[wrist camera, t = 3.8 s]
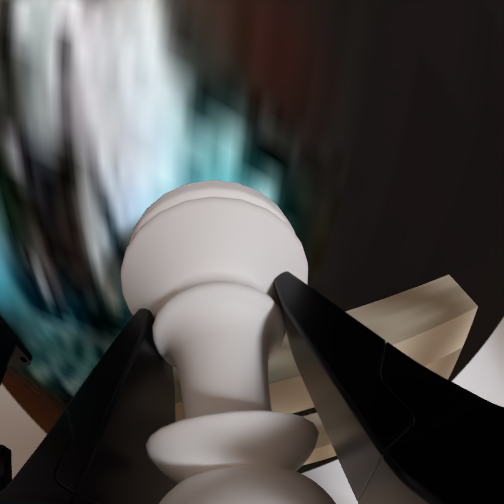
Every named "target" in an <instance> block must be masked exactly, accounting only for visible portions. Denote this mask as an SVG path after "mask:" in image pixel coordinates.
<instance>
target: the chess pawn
mask: <svg viewBox="0 0 504 504" xmlns="http://www.w3.org/2000/svg"><path fill="white" fill-rule="evenodd" d="M285 271H288V272H290V273H291V274H293V275H294V276H296V277H297V278H299V279H300V280H301V281H303V282H304V283H306V284H307V279H308V263H307V260H306V256H305V253H304V250H303V247H302V244H301V242H300V241H299V239H298V238H297V236H296V235H295V232H294V229H293V228H292V226H291V224H290V222H289V221H288V220H287V218H286V217H285V215H284V214H283V213H282V211H281V210H280V208H279V207H278V206H277V205H276V204H275V203H273V202H272V201H271V200H270V199H268V198H267V197H266V196H264V195H263V194H262V193H260V192H259V191H256V190H254V189H251V188H249V187H246V186H244V185H241V184H238V183H233V182H224V181H215V180H210V181H203V182H197V183H190V184H186V185H184V186H181V187H179V188H177V189H175V190H172V191H170V192H168V193H166V194H164V195H163V196H162V197H160V198H159V199H158V200H157V201H156V202H154V203H153V204H152V205H151V206H150V207H148V208H147V209H146V211H145V212H144V214H143V215H142V217H141V218H140V220H139V221H138V223H137V224H136V226H135V228H134V230H133V233H132V236H131V239H130V243H129V245H128V247H127V249H126V252H125V256H124V259H123V263H122V267H121V285H122V293H123V296H124V298H125V301H126V303H127V306H128V308H129V310H130V312H131V313H132V315H133V316H134V315H135V313H136V312H137V311H138V310H139V309H141V308H145V309H148V310H150V311H151V312H152V315H153V317H154V320H155V321H154V324H153V327H152V328H153V341H154V344H155V346H156V348H157V350H158V353H159V354H160V355H161V356H162V357H163V358H164V359H165V360H166V362H167V363H169V364H170V365H172V366H173V367H175V368H176V369H177V372H178V376H179V380H180V386H181V393H182V400H183V406H184V413H185V419H183V420H180V421H177V422H175V423H172V424H169V425H167V426H164V427H162V428H160V429H159V430H158V431H156V432H155V433H153V434H152V435H151V436H150V438H149V440H148V442H147V444H146V448H147V452H148V456H149V458H150V459H151V461H152V462H153V463H154V464H155V465H156V466H157V467H158V468H159V469H160V470H161V471H162V472H163V473H164V474H165V475H166V476H168V477H169V478H171V479H172V480H174V481H176V482H178V483H179V484H177V485H176V486H175V487H174V488H173V489H172V490H171V491H170V492H168V493H167V494H166V495H165V497H164V498H163V499H162V500H161V501H160V503H159V504H336V503H335V502H334V501H333V499H332V498H331V497H330V496H329V494H328V493H327V492H326V491H325V490H324V489H323V488H321V487H320V486H319V485H318V484H317V483H316V482H314V481H313V480H311V479H310V478H308V477H306V476H304V475H302V474H300V473H298V472H296V471H297V470H298V469H299V468H300V467H301V466H302V465H303V464H304V463H305V462H306V461H307V460H308V458H309V457H310V456H311V454H312V452H313V450H314V449H315V446H316V443H317V439H318V434H319V432H318V430H317V428H316V426H315V424H314V423H313V422H311V421H309V420H308V419H306V418H304V417H302V416H298V415H294V414H290V413H286V412H275V411H272V408H271V402H270V391H269V380H268V361H269V360H270V359H271V358H272V357H273V356H274V355H275V354H276V352H277V351H278V350H279V348H280V347H281V345H282V343H283V340H284V337H285V334H286V326H285V321H284V317H283V314H282V311H281V309H280V307H279V303H278V299H277V294H276V290H275V286H274V279H275V278H276V277H277V276H278V275H279V274H281V273H283V272H285Z"/></svg>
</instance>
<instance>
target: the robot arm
mask: <svg viewBox="0 0 504 504" xmlns="http://www.w3.org/2000/svg"><path fill="white" fill-rule="evenodd" d="M274 286H275V290H276V294H277V299H278V303H279V307H280V309H281V311H282V314H283V317H284V321H285V326H286V335H287V338H288V342H289V345H290V348H291V352H292V355H293V358H294V361H295V363H296V366H297V368H298V370H299V372H300V375H301V377H302V379H303V381H304V384H305V386H306V388H307V390H308V393H309V395H310V397H311V399H312V402H313V404H314V406H315V408H316V411H317V413H318V415H319V417H320V419H321V422H322V424H323V426H324V428H325V431H326V433H327V435H328V437H329V440H330V442H331V444H332V446H333V448H334V451H335V453H336V455H337V457H338V460H339V462H340V464H341V466H342V468H343V471H344V473H345V475H346V477H347V479H348V482H349V484H350V486H351V488H352V491H353V493H354V495H355V497H356V499H357V501H358V504H504V407H501V406H498V405H496V404H493V403H491V402H489V401H487V400H485V399H483V398H481V397H479V396H477V395H475V394H473V393H472V392H470V391H468V390H466V389H464V388H462V387H460V386H459V385H457V384H455V383H453V382H451V381H449V380H447V379H446V378H444V377H442V376H440V375H438V374H437V373H435V372H433V371H431V370H430V369H428V368H426V367H425V366H423V365H421V364H419V363H418V362H416V361H415V360H413V359H412V358H410V357H409V356H407V355H406V354H404V353H403V352H401V351H400V350H399V349H397V348H396V347H394V346H393V345H392V344H390V343H389V342H386V341H385V340H384V339H383V338H382V337H380V336H379V335H377V334H376V333H375V332H373V331H372V330H370V329H369V328H368V327H366V326H365V325H363V324H362V323H361V322H359V321H358V320H356V319H355V318H353V317H352V316H351V315H349V314H348V313H346V312H345V311H344V310H342V309H341V308H339V307H338V306H337V305H335V304H334V303H332V302H331V301H330V300H328V299H327V298H325V297H324V296H323V295H321V294H320V293H318V292H317V291H315V290H314V289H313V288H311V287H310V286H308V285H307V284H306V283H304V282H303V281H301V280H300V279H299V278H297V277H296V276H294V275H293V274H291V273H290V272H288V271H285V272H283V273H281V274H279V275H278V276H277V277H276V278H275V279H274ZM154 321H155V320H154V317H153V315H152V312H151V311H150V310H148V309H145V308H141V309H139V310H138V311H137V312H136V313H135V315H134V316H133V317H132V318H131V320H130V321H129V322H128V324H127V325H126V326H125V327H124V329H123V330H122V331H121V333H120V334H119V335H118V337H117V338H116V339H115V341H114V342H113V343H112V345H111V346H110V347H109V349H108V350H107V351H106V353H105V354H104V355H103V357H102V358H101V359H100V361H99V362H98V364H97V365H96V366H95V368H94V369H93V370H92V372H91V373H90V375H89V376H88V377H87V379H86V380H85V382H84V383H83V384H82V386H81V387H80V389H79V390H78V391H77V393H76V394H75V396H74V397H73V398H72V400H71V401H70V403H69V404H68V406H67V407H66V409H67V410H64V411H63V413H62V414H61V416H60V417H59V419H58V420H57V421H56V423H55V424H54V426H53V427H52V429H51V430H50V431H49V433H48V434H47V436H46V437H45V438H44V440H43V441H42V442H41V444H40V445H39V446H38V448H37V449H36V450H35V452H34V453H33V454H32V455H31V457H30V458H29V459H28V460H27V462H26V463H25V464H24V466H23V467H22V468H21V470H20V471H19V472H18V473H17V475H16V476H15V477H14V478H13V480H12V466H11V450H10V449H8V448H7V447H5V446H4V445H0V504H159V503H160V501H161V500H162V499H163V498H164V497H165V495H166V494H167V493H168V492H170V491H171V490H172V489H173V488H174V487H175V486H176V485H177V484H179V483H178V482H176V481H174V480H172V479H171V478H169V477H168V476H166V475H165V474H164V473H163V472H162V471H161V470H160V469H159V468H158V467H157V466H156V465H155V464H154V463H153V462H152V461H151V459H150V458H149V456H148V452H147V448H146V444H147V442H148V440H149V438H150V436H151V435H152V434H153V433H155V432H156V431H158V430H159V429H160V428H162V427H164V426H167V425H169V424H172V423H175V422H176V412H175V383H174V374H173V366H172V365H170V364H169V363H167V362H166V360H165V359H164V358H163V357H162V356H161V355H160V354H159V353H158V350H157V348H156V346H155V344H154V341H153V328H152V327H153V324H154ZM385 342H386V343H385ZM31 360H32V355H31V354H30V353H29V352H28V350H27V349H26V348H25V347H24V346H23V345H22V343H21V342H20V341H19V340H18V338H17V337H16V336H15V335H14V333H13V332H12V331H11V330H10V328H9V327H8V326H7V324H6V323H5V322H4V321H3V319H2V318H1V316H0V385H1V382H2V380H3V377H4V375H5V372H6V369H7V367H16V366H25V365H30V363H31Z"/></svg>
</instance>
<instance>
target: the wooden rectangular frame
mask: <svg viewBox="0 0 504 504" xmlns="http://www.w3.org/2000/svg"><path fill="white" fill-rule="evenodd" d="M477 308H478V306H477V305H476V304H475V303H474V302H473V301H472V299H471V298H470V297H469V296H468V295H467V294H466V293H465V292H464V290H463V289H462V288H461V287H460V286H459V285H458V284H457V283H456V282H455V281H454V280H453V278H452V277H451V276H450V275H446V276H444V277H441V278H439V279H436V280H434V281H431V282H428V283H426V284H423V285H420V286H418V287H415V288H412V289H410V290H407V291H404V292H402V293H399V294H396V295H393V296H390V297H387V298H385V299H382V300H379V301H376V302H373V303H370V304H367V305H364V306H361V307H358V308H355V309H352V310H349V311H345V312H346V313H348V314H349V315H351V316H352V317H353V318H355V319H356V320H358V321H359V322H361V323H362V324H363V325H365V326H366V327H368V328H369V329H370V330H372V331H373V332H375V333H376V334H377V335H379V336H380V337H382V338H383V339H384V340H385V341H386V342H389V343H390V344H392V345H393V346H394V347H396V348H397V349H399V350H400V351H401V352H403V353H404V354H406V355H407V356H409V357H410V358H412V359H413V360H415V361H416V362H418V363H419V364H421V365H423V366H425V367H426V368H428V369H430V370H431V371H433V372H435V373H437V374H438V375H440V376H442V377H444V378H446V379H447V380H448V378H449V376H450V374H451V372H452V370H453V368H454V365H455V363H456V361H457V359H458V356H459V354H460V352H461V350H462V347H463V345H464V342H465V340H466V337H467V335H468V332H469V330H470V327H471V324H472V322H473V319H474V316H475V313H476V311H477ZM386 342H385V343H386ZM173 374H174V383H175V412H176V422H177V421H180V420H183V419H185V413H184V406H183V400H182V393H181V386H180V380H179V376H178V372H177V369H176V368H175V367H173ZM268 380H269V391H270V402H271V408H272V411H275V412H286V413H290V414H291V413H295V412H299V411H303V410H306V409H310V408H313V407H315V406H314V404H313V402H312V399H311V397H310V395H309V393H308V390H307V388H306V386H305V384H304V381H303V379H302V377H301V375H300V372H299V370H298V368H297V366H296V363H295V361H294V358H293V355H292V352H291V348H290V345H289V342H288V338H287V335H286V334H285V337H284V340H283V343H282V345H281V347H280V348H279V350H278V351H277V352H276V354H275V355H274V356H273V357H272V358H271V359H270V360H269V361H268ZM303 417H304V418H306V419H308V420H309V421H311V422H313V423H314V424H315V426H316V428H317V430H318V432H319V434H318V439H317V443H316V446H315V449H314V450H313V452H312V454H311V456H310V457H309V458H308V460H307V461H306V462H305V463H304V464H303V465H306V464H309V463H313V462H317V461H320V460H324V459H327V458H330V457H333V456H337V455H336V453H335V451H334V448H333V446H332V444H331V442H330V440H329V437H328V435H327V433H326V431H325V428H324V426H323V424H322V422H321V419H320V417H319V415H318V413H313V414H310V415H306V416H303Z"/></svg>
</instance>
